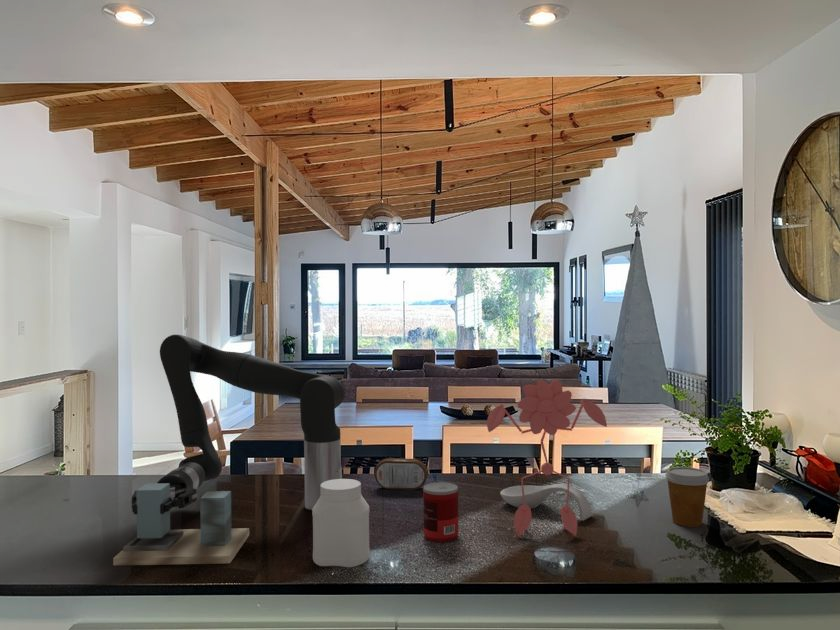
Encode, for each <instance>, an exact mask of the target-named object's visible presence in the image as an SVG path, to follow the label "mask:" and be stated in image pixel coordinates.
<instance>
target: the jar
mask: <svg viewBox="0 0 840 630" xmlns="http://www.w3.org/2000/svg"><path fill="white" fill-rule="evenodd" d="M320 491H321V492H320V494H321V495H320V498H319V499H318V501H317V502H316V504H315V506H314V507H313V509H312V510H311V513H312V514H311V515H312V560H313V562H314V564H316V565H317V566H319V567H344V568H354V567H355V568H356V567H358V566H361V565H363V564H364V563H366V562H367V561H368V560H369V559H370V557H371V553H370V552H371V550H370V505H369V503H368V502H367V501H366V499H365V498H364V497H363V495H362V483H361V481H359V480H357V479H352V478H342V479H334V480H329V481H325V482H323V483H322V484H321V485H320Z"/></svg>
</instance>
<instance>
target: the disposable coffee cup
mask: <svg viewBox="0 0 840 630" xmlns="http://www.w3.org/2000/svg"><path fill="white" fill-rule="evenodd" d="M664 475H665V478H666V480H667V486H668V493H669V500H670V509H671V516H672V522H673V523H674V524H676V525H678V526H682V527H686V528H687V527H689V528H695V527H696V528H697V527H700V526H702V525H703V517H704V511H705V505H706V503H705V502H706V495H707V488H708V483H709V481H710V478H709V475H708V472H707V471H705V470H703V469H701V468H700V469H699V468H695V467H690V466H673V467H669V468H668V469H667V470H666V473H665V474H664Z"/></svg>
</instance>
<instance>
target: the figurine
mask: <svg viewBox="0 0 840 630" xmlns="http://www.w3.org/2000/svg"><path fill="white" fill-rule="evenodd" d="M522 390H523V393H524V394H525V396H526V397H524V398H521V399H520V400H519V401H518V403H517V408H518V409H520V410H521V412H520V414H519V417H518V420H519V422H520V423H528V422H529V426H530V429H529V428H528V429H525V430H522V429H521V427H520V426H519V424H518V423H517V422H516V421H515V420H514V418H513V417H512V416H511V414H510V413H509V412H508V410H507V409H506V408H505V407H504V404H503V403H501V404H499V405H498V406H495V408H494V409H493V410H491V411H490V413H489V414H488V416H487V420H486V427H487V431H488V433H491V432H492V431H493V430H495V429H497V428H498V427H499V426H500V425H501V424H502V422H503V420H504V418H505V415H507V417H508V418H509V419H510V421H511V422H512V423H513V425H514V426H515V427H516V428H517V429H518V431H519V432H520V433H521V434H526V433H529V432H532V434H533V435H539V434H540V433H542V430H543V433H542V436H541V439H540V445H541V446H540V447H541V450H542V453H543V456H544V460H545V462H544V463H543V464H541V468H540V470H539V471H536V472H533V473H531V474H530V473H529V474H528V475H525V476H523V477H521V479H520V481H521V486H522V494H523V505H522V506H520V507H519V508H517V510H515V513H514V516H513V526H514V530H515V533H516V535H517V537H519V536H520V535H522V534H523V533H525V532H526V530H527V529H528V528H529V527H530V525H531V522H532V517H533V516H532V511H531V509H530V507H529V506H528V505H527V506H526V505H525V498H524V487H523V486H524V479H526V478H529V477H532V476H534V475H537V474H540V473H542V474H543V475H545V476H550V475H552V473H553V474H556V475H558V476H560V477H563V478H565V479H567V485H568V487H567V493H566V505H563V506H561V509H560V518H561V522H562V524H563V525H562V527H563V528H562V529H563V530H566V529H567V531H569V533H571V535H573V536H574V537H576V536H577V532H578V520H577V517H576V514H575V512H574V511H573V510H572V509H571V507H569V496H570V495H569V485H570V483H571V482H570V480H571V479H570V477H567V476H565V475H564V474H562V473H560V472H557V471H555V470H554V466H553V465H552V464H551V463H550V462H548V457H547V453H546V450H545V445H544V440H545V436H546V434H549V435H550V436H555V434H557V432H558V430H559V431H560V430H563V431H573V430H574V427H575V425H576V423H577V421H578V419H579V417H580V414H581V412H582V410H584V411H585V413H586V414H587V416H588V417H589V418H590V419H591V420H593V421H594V422H595V423H597V424H599V425H601V426H603V427H605V428H607V424H608V423H607V419H606V416H605V414H604V412H603V410H602V409H601V408H600V407H599V406H598V405H597V404H596V403H594V402H593V401H592V400H588V399H586V398H582V399H581V400H582V401H581V404H580V406H579V408H578V411H577V412H576V413H577V414H576V415H575V417H574V420H573V422H572V424H571V421H570V419H569V418H568V416H570V415H572V414H573V413H575V411H576V410H577V407H576V405H575V404H574V403H571V400H572V391H570V390H565V391H563V385H562V382H561V380H560V379H557V378H556V379H554V380H552V382H551V383H550V384H549V383H548V382H547V381H545V380H544V379H538V380H537V381H536V385H534V384H527V385H524V386H523V388H522ZM570 425H571V427H570ZM497 526H499V523H498V524H497ZM594 545H595V543H593V544H591V545H589V546H586V547H582V548H578V549H571V550H569V552H574V551H578V552H581V551H583V550H586V549H587V548H590V547H593V546H594ZM527 549H528V550H532V549H533V550H534V551H537V549H535V548H530V547H528V548H527ZM538 550H539V552H545V550H544V549H543V550H541V549H538ZM549 551H550V552H551V553H553V554H555V553H563V552H567V550H549Z"/></svg>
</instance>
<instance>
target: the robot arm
mask: <svg viewBox="0 0 840 630" xmlns="http://www.w3.org/2000/svg"><path fill="white" fill-rule="evenodd" d="M159 347H160V348H159V358H160V360H161V364H162V368H163V371H164V372H165V375H166V379H167V382H168V384H169V388H170V392H171V396H172V398H173V401H174V402H173V403H174V405H175V411H176V416H177V420H178V428H179V434H180V440H181V444H182V446H184V447H185V448H200V450H201V452H202V453H200V454H197V455H193V456H188V457H186V458H183V459H181V460H180V461H179V464H178V467H177V468H174V469H173V470H171V471H170V472H168V473H167V474H166V475H164V476H163V477H161V478H160V479H158V481H157V483H170V496H169V499H166V500H165V501H164V502H163V503H161V504H160V514H165V513H166V512H168V511H169V510H170V511H171V510H174V509H176V508H177V507H178V508H179V509H184V508H186V507H187V506H189V505H192V504H193V503H196V502H197V501H198V499H197V498H198V493H197V492H198V491H197V490H198V489H199V488H200V487H202V484H204V482H207V481H211V480H215V479H217V478H219V476H220V475H221V474H222V470H223V463H222V460H221V458H220V456H219V454H218V452H217V450H216V448H215V446H214V444H213V441H212V439H211V435H210V431H209V426H208V420H207V419H208V418H207V414H206V412H205V407H204V405H203V403H202V401H201V399H200V397H199V394H198V393H197V390H196V388H195V386H194V383H193V380H192V379H193V378H192V374H191V373H199V374H204V375H209V376H212V377H215V378H217V379H219V380H221V381H223V382H225V383H226V384H229V385H231V386H233V387H235V388H238V389H241V390H246V391H248V392H252V393H255V394H260V395H261V394H262V395H270V396H285V397H291V398H295V399H299V408H300V412H299V413H300V425H301V430H302V431H303V432H302V433H303V439H304V440H303V448H304V449H303V451H304V452H303V454H304V455H303V456H304V457H303V459H304V460H303V461H304V464H303V465H304V508H305V509H306V510H308V511H312V509H313V507H314V506H315V504H316V502H317V501H318V499H319V498H320V495H321V494H320V492H321V491H320V485H321V484H322V483H323V482H325V481H329V480H334V479H343V474H342V473H343V471H342V470H343V467H342V463H341V459H342V458H341V456H342V455H341V453H342V452H341V449H342V448H341V445H342V444H341V428H340V427H339V426H338V425H337V423H336V410H335V409H337V408H338V407H339V406H340V405H341V404H342V403H343V401H344V400H345V396H346V391H345V388H344V385H343V384H342V383H341V382H340V380H338V379H337V378H336V377H334V376H332V375H327V374H320V373H314V372H309V371H308V372H307V371H303V370H299V369H295V368H292V367H290V366H287V365H285V364H282V363H279V362H276V361H272V360H269V359H266V358H263V357H260V356H256V355H254V354H253V355H252V354H250V353H249V354H248V353H243V352H238V351H228V350H227V351H226V350H222V349H219V348H216V347H213V346H211V345H208V344H206V343H204V342H201V341H199V340H198V339H195V338H192V337H189V336H186V335H182V334H171V335H168V336H167V337H166V338H165V339H163V340H162V342H161V344H160V346H159ZM131 510H132V513H133V515H137V496H136V490H134V492H133V494H132V496H131Z"/></svg>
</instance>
